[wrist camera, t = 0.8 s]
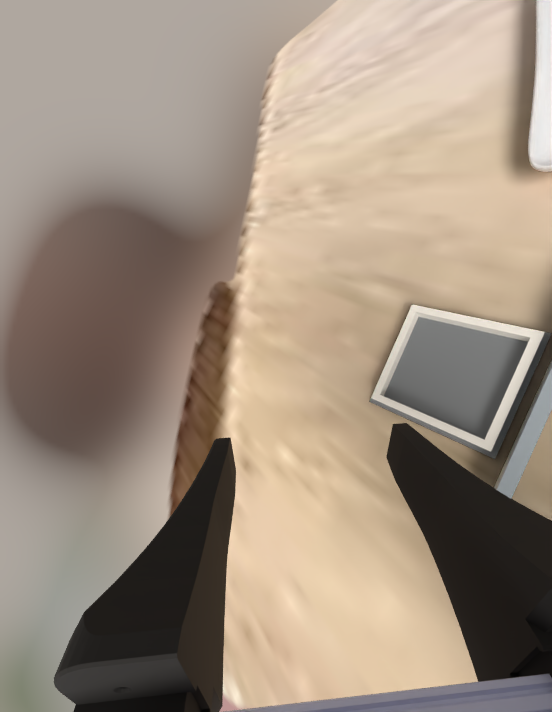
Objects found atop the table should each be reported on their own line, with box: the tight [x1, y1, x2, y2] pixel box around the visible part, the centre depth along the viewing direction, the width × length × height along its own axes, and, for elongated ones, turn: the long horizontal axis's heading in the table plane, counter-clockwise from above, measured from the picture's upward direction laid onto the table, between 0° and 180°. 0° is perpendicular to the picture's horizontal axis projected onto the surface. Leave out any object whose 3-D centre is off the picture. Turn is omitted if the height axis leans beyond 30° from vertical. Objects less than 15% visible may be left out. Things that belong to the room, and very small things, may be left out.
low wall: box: [494, 360, 552, 498], centre depth 19 cm, size 1×18×3 cm, turn 152°
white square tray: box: [369, 304, 552, 459], centre depth 24 cm, size 10×10×2 cm
